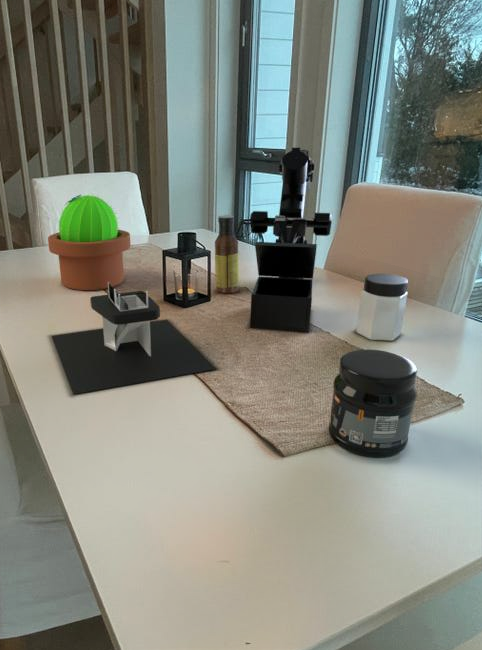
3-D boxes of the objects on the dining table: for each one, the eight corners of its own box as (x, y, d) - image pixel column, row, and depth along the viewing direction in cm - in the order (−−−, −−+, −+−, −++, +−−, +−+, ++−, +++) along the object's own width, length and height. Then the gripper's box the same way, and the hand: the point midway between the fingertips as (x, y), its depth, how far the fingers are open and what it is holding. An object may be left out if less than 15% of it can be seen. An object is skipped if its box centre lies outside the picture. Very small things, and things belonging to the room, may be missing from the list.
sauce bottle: (238, 287, 141) (240, 214, 133) (238, 294, 135) (241, 218, 127) (214, 287, 141) (215, 214, 133) (213, 294, 135) (214, 218, 128)
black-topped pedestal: (51, 336, 110) (44, 275, 104) (166, 320, 118) (165, 263, 113) (73, 394, 85) (65, 320, 80) (216, 369, 94) (217, 299, 88)
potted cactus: (146, 278, 150) (142, 190, 141) (97, 298, 133) (89, 199, 124) (89, 269, 161) (82, 186, 152) (37, 286, 144) (26, 195, 135)
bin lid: (316, 247, 105) (316, 244, 105) (254, 245, 108) (255, 241, 108) (312, 278, 119) (313, 275, 119) (258, 275, 122) (258, 272, 122)
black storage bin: (308, 332, 109) (312, 298, 106) (249, 328, 112) (251, 294, 109) (309, 310, 122) (312, 279, 119) (257, 307, 125) (258, 276, 122)
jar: (409, 338, 106) (419, 282, 101) (377, 344, 103) (385, 286, 99) (379, 324, 114) (387, 271, 109) (348, 329, 111) (355, 275, 106)
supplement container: (355, 412, 79) (365, 341, 74) (421, 442, 71) (437, 365, 66) (312, 437, 73) (320, 361, 68) (379, 472, 65) (393, 389, 60)
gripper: (329, 219, 129) (325, 273, 124) (255, 217, 134) (248, 269, 128) (333, 191, 119) (329, 247, 114) (253, 189, 124) (246, 244, 118)
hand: (287, 253), depth 119 cm, fingers closed
